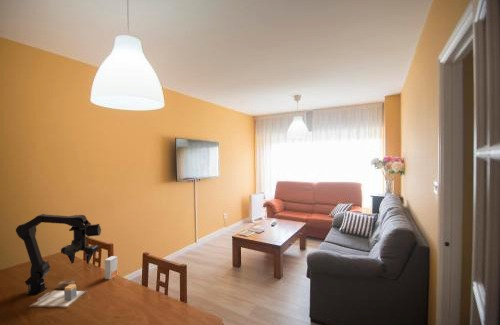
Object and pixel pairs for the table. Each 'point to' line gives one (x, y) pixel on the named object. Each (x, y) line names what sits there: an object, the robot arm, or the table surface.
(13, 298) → the table surface
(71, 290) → the lidded cardboard box
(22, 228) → the robot arm
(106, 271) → the skincare box
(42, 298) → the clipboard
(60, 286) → the plain pale rectangular box
